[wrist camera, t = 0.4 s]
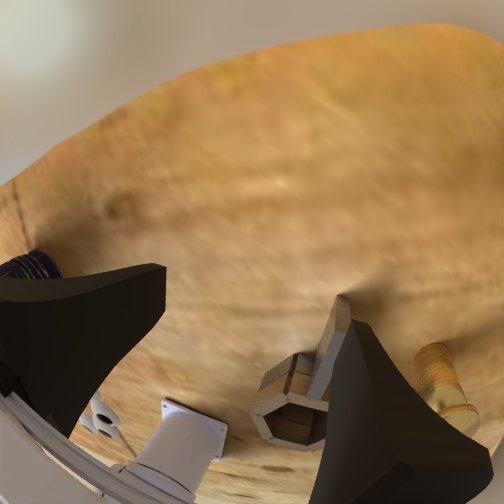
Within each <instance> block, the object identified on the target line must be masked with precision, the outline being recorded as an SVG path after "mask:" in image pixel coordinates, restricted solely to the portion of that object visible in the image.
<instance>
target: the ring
mask: <svg viewBox="0 0 504 504" xmlns="http://www.w3.org/2000/svg"><path fill="white" fill-rule="evenodd" d="M100 400H101V398H100V394H99V392H98V390H97V391H96V392H95V394H94V395H93V397H92V398H91V400H90V401H91V409H92V411H93V413H94V414H93V418H92V417H90V416H89V415H88V414H86V413H85V412H83V413H82V414H81V416H80V418H79V420H80V422H81V424H82V425H83V426H84V427H85V428H86V429H88V430H89V431H90V432H92V433H94V434H103V435H104V436H107V437H109V438H119V437H120V434H119V432H118V430H117V429H116V428H115V427H114V426H119V425H120V420H119V418H118V417H117V415H116V414H115V413H114V412H113V410H112V409H111V408H109V407H108V406H107V405H106V404H104V403H103V402H101V401H100ZM99 414H102V415H105V416H106V417H108V418H109V419H110V420H111V421H112V422H113V424H112V423H109V422H106V421H105V420H104V419H103V418H102V417H101V416H100V415H99Z"/></svg>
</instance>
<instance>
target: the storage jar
mask: <svg viewBox="0 0 504 504" xmlns="http://www.w3.org/2000/svg"><path fill="white" fill-rule="evenodd" d="M0 276H4V277H11V278H21V279H63V277H62V275H61V273H60V271H59V269H58V268H57V266H56V265H55V263H54V262H53V261H52V259H51V258H50V257H49V256H48V255H47V254H46V253H44V252H43V251H41V250H33V251H31V252H29V253H28V254H24V255H22V256H17V257H15V258H13V259H11V260H10V261H8V262H5V263H4V264H2V265H0Z"/></svg>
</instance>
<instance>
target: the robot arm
mask: <svg viewBox="0 0 504 504" xmlns="http://www.w3.org/2000/svg"><path fill="white" fill-rule="evenodd" d="M166 269H167V267H165V266H161V265H158V264H155V263H148V264H142V265H136V266H132V267H127V268H122V269H118V270H113V271H109V272H103V273H98V274H93V275H87V276H81V277H74V278H63V279H21V278H11V277H4V276H0V504H196V503H193V502H194V500H195V498H196V496H195V495H194V494H195V492H196V490H197V488H198V487H199V485H200V483H201V481H202V479H203V477H204V475H205V473H206V471H207V469H208V467H209V465H210V463H211V461H212V460H215V461H220V460H221V456H222V452H223V447H224V443H225V438H226V434H227V430H228V425H227V424H225V423H223V422H220V421H218V420H215V419H212V418H210V417H207V416H204V415H202V414H199V413H197V412H195V411H192V410H190V409H187V408H185V407H183V406H180V405H178V404H176V403H173V402H171V401H169V400H167V399H163V400H162V401H161V406H162V419H163V421H162V422H161V424H160V425H159V426H158V428H157V429H156V431H155V432H154V433H153V435H152V436H151V438H150V439H149V440H148V442H147V443H146V445H145V446H144V447H143V449H142V450H141V452H140V453H139V454H138V456H137V457H136V459H135V460H134V461H131V460H130V462H129V463H128V464H127V466H126V465H125V464H123V463H119V464H114V465H112V466H111V467H108V466H106V465H105V464H103V463H102V462H100V461H99V460H97V459H95V458H94V457H92V456H91V455H90V454H88V453H87V452H85V451H84V450H82V449H81V448H80V447H78V446H77V445H75V444H74V443H73V442H71V441H70V440H69V437H70V435H71V433H72V431H73V429H74V427H75V425H76V423H77V421H78V419H79V418H80V416H81V414H82V413H83V411H84V409H85V408H86V406H87V404H88V403H89V401H90V400H91V398H92V397H93V395H94V394H95V392H96V391H97V389H98V388H99V387H100V385H101V384H102V382H103V381H104V380H105V378H106V377H107V376H108V375H109V373H110V372H111V371H112V369H113V368H114V367H115V366H116V365H117V364H118V363H119V361H120V360H121V359H122V358H123V357H124V356H125V355H126V354H127V353H128V352H129V351H130V350H131V349H132V348H133V347H134V346H135V345H136V344H137V343H139V342H140V341H141V340H142V339H143V337H144V336H145V335H146V334H147V333H148V332H149V331H150V330H151V329H152V328H153V327H154V326H155V324H156V323H157V322H158V320H159V319H160V318H161V316H162V315H163V313H164V312H165V307H166ZM36 441H37V442H38V443H39V444H40V445H41V446H42V447H43V448H45V449H46V450H47V451H48V452H49V453H50V454H52V455H53V456H54V457H55V458H56V459H58V460H59V461H60V462H62V463H63V464H64V465H65V466H67V467H68V468H69V469H71V470H72V471H73V472H75V473H76V474H77V475H79V476H80V477H81V478H83V479H84V480H86V481H87V482H89V483H90V484H92V485H93V486H95V488H94V490H93V491H92V490H91V489H89V488H88V487H86V486H85V485H84V484H82V483H81V482H80V481H78V480H77V479H75V478H74V477H73V476H72V475H71V474H69V473H68V472H67V471H66V470H65V469H63V468H62V467H61V466H60V465H58V464H57V463H56V462H54V461H53V460H52V459H51V458H50V457H49V456H47V455H46V454H45V452H44V451H43V449H42V448H41V446H40V445H39V444H38V443H37V442H36ZM493 475H494V473H493V468H492V463H491V459H490V455H489V450H488V449H487V448H486V447H484V446H482V445H481V444H479V443H477V442H476V441H474V440H472V439H471V438H469V437H467V436H466V435H464V434H463V433H461V432H460V431H459V430H457V429H456V428H455V427H453V426H452V425H451V424H449V423H448V422H447V421H446V420H445V419H443V418H442V417H441V416H440V415H439V414H438V413H436V412H435V411H434V410H433V409H432V408H431V407H430V406H429V405H428V404H427V403H426V402H425V401H424V400H423V399H422V398H421V397H420V396H419V395H418V394H417V393H416V391H415V390H414V389H413V388H412V387H411V386H410V385H409V383H408V382H407V381H406V380H405V378H404V377H403V376H402V374H401V373H400V372H399V370H398V369H397V368H396V366H395V365H394V363H393V362H392V361H391V359H390V358H389V356H388V355H387V353H386V351H385V350H384V348H383V347H382V345H381V344H380V342H379V340H378V339H377V337H376V336H375V334H374V332H373V331H372V329H371V328H370V326H369V325H368V323H364V322H360V321H356V320H351V323H350V325H349V328H348V330H347V333H346V335H345V338H344V340H343V343H342V345H341V348H340V350H339V352H338V355H337V357H336V359H335V362H334V366H333V371H332V377H331V382H330V391H329V406H328V419H327V431H326V439H325V445H324V450H323V454H322V458H321V462H320V466H319V470H318V474H317V477H316V481H315V484H314V488H313V491H312V494H311V497H310V500H309V503H308V504H466V503H467V502H468V501H470V500H471V499H473V498H474V497H476V496H477V495H478V494H479V493H481V492H482V491H483V490H484V489H485V488H486V487H487V486H488V485H489V483H490V482H491V480H492V478H493Z"/></svg>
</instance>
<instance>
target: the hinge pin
mask: <svg viewBox="0 0 504 504" xmlns="http://www.w3.org/2000/svg"><path fill="white" fill-rule="evenodd" d="M415 367H416V371H417V376H418V380H419V385H420V389H421V394H422V399H423V400H424V401H425V402H426V403H427V404H428V405H429V406H430V407H431V408H432V409H433V410H434V411H435V412H436V413H438V414H439V415H440V416H441V417H442V418H443V419H445V420H446V421H447V422H448V423H449V424H451V425H452V426H453V427H455V428H456V429H457V430H459V431H460V432H461V433H463V434H464V435H466V436H467V437H469V438H470V437H472V436H473V435H474V433H475V432H476V431H477V430H478V428H479V426H480V417H479V414H478V411H477V409H476V407H475V406H473V405H471V404H467V401H466V398H465V395H464V392H463V389H462V386H461V384H460V381H459V378H458V375H457V373H456V370H455V367H454V365H453V362H452V359H451V357H450V354H449V352H448V349H447V348H446V346H445V345H443V344H440V343H433V344H429V345H427V346H425V347H424V348H422V349H421V350H420V351H419V352H418V354H417V355H416V357H415Z"/></svg>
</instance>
